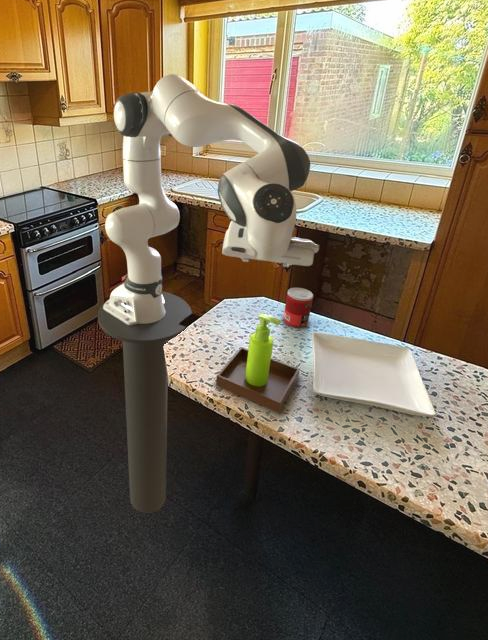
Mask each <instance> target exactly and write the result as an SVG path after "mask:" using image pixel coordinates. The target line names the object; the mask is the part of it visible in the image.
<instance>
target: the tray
mask: <svg viewBox="0 0 488 640" xmlns="http://www.w3.org/2000/svg"><path fill="white" fill-rule="evenodd" d="M248 350H249V348H245V347H243V346H240V347H239V348H238V350H237V351H236V352H235V353H234V355H232V356H231V358H230V359H229V360H228V361H227V363H226V364H225V365H224V366H223V368H222V369H220V371H219V372H218V373H217V375H216V380H215V385H216V386H217V387H219V388H220V389H221V388H222V389H224V390H226V391H228V392H230V393H233V394H235V395H237V396H239V397H241V398H244V399H246V400H248V401H251V402H252V403H255V404H257V405H259V406H262V407H264V408H266V409H268V410H270V411H272V412H274V413H277V414H279V413H281V412H280V411H281V410H282V408H283V407H284V405H285V403H286V401H287V399H288V397H289V396H290V394H291V392H292V390H293V389H294V387H295V385H296V383H297V381H298V380H299V376H300V371H301V369H300V368H298V367H296V366H294V365H290V364H288V363H285V362H282V361H280V360H277V359H275V358H272V357H271V361H270V368H269V374H268V380H267V383H266V384H265V385H263V386H253V385H251V384H249V383H248V382H247V381H246V379H245V374H246V366H247V358H248Z"/></svg>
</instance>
